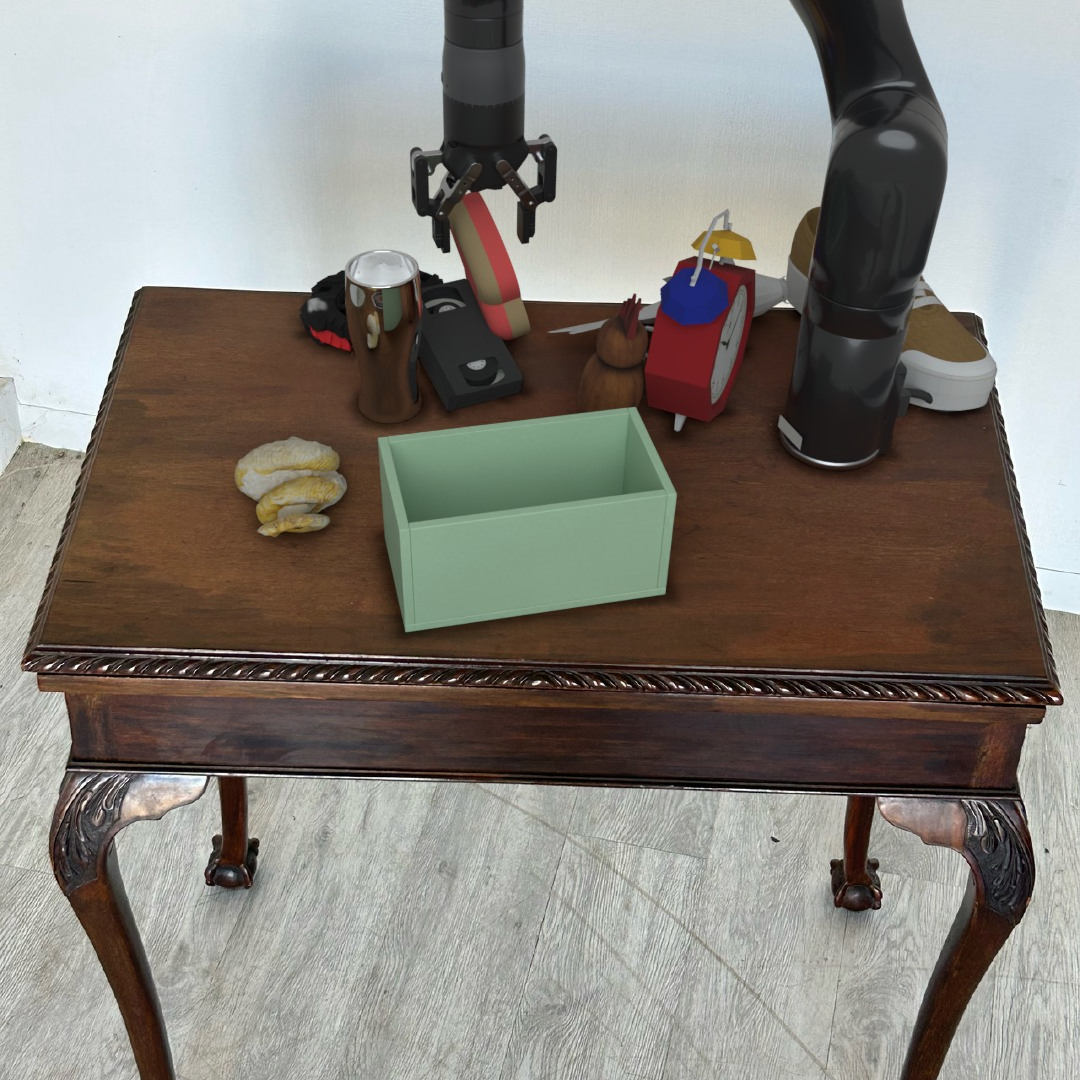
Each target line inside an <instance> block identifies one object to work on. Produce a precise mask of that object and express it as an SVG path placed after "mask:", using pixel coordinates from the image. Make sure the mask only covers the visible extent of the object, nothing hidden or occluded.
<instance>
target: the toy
mask: <svg viewBox="0 0 1080 1080" xmlns="http://www.w3.org/2000/svg"><path fill="white" fill-rule="evenodd" d="M419 277H420V284H421V288H425V287H429V286H434V285H438V284H442V283H444V279H443V278H440V276H439V275H438V274H436V273H433V274H431V273H429V272H426V271H423V270H421V269H419ZM310 291H311V295H310V298H309V299H306V300H305V302H304V303H303V304H302V306H301V307H300V309H299V310H300V314H299V317H300V318H299V319H300V320H301V322H302V323H301V324H302V326H303V328H304V331H305V332H306V333H307V334H308V336H309V337H310V338H311V339H312V340H313V341H314V342H315V343H316V344H318V345H319V346H325V345H329V346H333V347H335V348H337V349H340V350H344V351H349V352H352V351H354V348H353V344H352V341H351V337H350V333H349V328H348V324H347V316H346V314H344V313H343V312H341V310H343V311H346V305H345V269H341V270H340V271H338V272H336V273H335V274H330V275H327V276H326V277H324V278H322V279H320V280H319V281H317V282H316V284H314V285H313V286H312V287H311V288H310ZM351 350H352V351H351Z"/></svg>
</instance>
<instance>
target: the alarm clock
mask: <svg viewBox="0 0 1080 1080" xmlns="http://www.w3.org/2000/svg"><path fill="white" fill-rule="evenodd" d="M722 217H724V218H723V226H722V229H717V230H715V227H716V225H717V223H718V221H719V219H721V218H722ZM729 219H730V210H729V208H726V209H725V210H724V211H722V212H721V213H719V214H718V215H716V216H715V217H713V218H712V221H711V223H710V225H709V227H708V229H707V230H703V231H702V232H701V234H699V236H698V237H697V238H696V239H695V240H694V241H693V242H692V243H691V244H690V246H691V248H693V250H696V251H698V255H693V256H690V257H687V258H683V259H681V260H678V262H677V264H676V267H675V269H674V271H673V273H672V275H670V276H666V277H664V278H662V281H664V282H665V284H664V285H662V286H661V287H660V289H659V290H660V291H659V292H660V293H659V295H660V301H661V303H660V305H659V307H658V310H657V314H656V319H655V324H654V325H653V326H650V325H646V326H645V325H644V327H645V329H646V331H647V332H651V333H652V334H651V338H650V344H649V348H648V350H647V351H646V354H645V356H644V358H643V359H642V360H643V361H646V363H645V367H644V381H645V389H646V396H647V397H646V398H647V405H648V407H651V408H654V409H658V410H661V411H665V412H669V413H673V414H675V416H674V417H675V419H674V429H673V430H674V431H675V432H681V430H682V428H683V425H684V424H685V421H686V419H687V417H688V418H691V419H696V420H699V421H703V422H707V423H710V422H711V421H712V420H713V419H714V418H716V417H717V416H719V415H720V414H721V413H722V412H723V411H724V410H725V408H726V405H727V402H728V399H729V397H730V396H731V395H730V394H731V392H732V390H733V387H734V384H735V382H736V380H737V377H738V375H739V372H740V370H741V367H742V365H743V361H744V357H745V352H746V348H747V345H748V344H747V343H748V339H749V334H750V331H751V327H752V323H753V319H754V317H753V314H754V309H755V273H757V271H756V269H754V268H749V267H746V266H741V265H738V264H737V265H736V264H735V265H733V264H728V263H724V259H725V257H726V258H732V259H733V260H737V261H738V260H739V261H758V259H757V257H756V253H755V251H754V248H753V244H752V241H751V240H750V239H749V238H748V237H745V236H743V235H741V234H739V233H737V232H735V231H733V230H732V228H733V223H732V222H729ZM704 253H705V254H709V255H712V257H711V259H710V258H706V257H704ZM715 257H719V260H720V261H719V260H715Z"/></svg>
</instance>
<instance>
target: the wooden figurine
mask: <svg viewBox="0 0 1080 1080" xmlns="http://www.w3.org/2000/svg"><path fill="white" fill-rule="evenodd" d="M641 307H642V298H641V297H638V299H637V293H636V292H635V293H633V294H632V297H631V298H630V297H628V298H627V299H626V300H623V301H622V304H621V306H620V308H619V311H618V314H617V315H616V316H611V317H610V318H607V319H608V320H607V319H606V320H607V321H605V322H604V324H603V325H602V326H601V328H600V329H598V332H597V336H596V341H595V349H596V352H595V353H593V354H592V355H591V356H590V358H589V359H588V360H587V363H586V365H585V366H584V368H583V372H582V375H581V378H580V383H579V388H578V393H577V399H576V401H577V402H576V405H577V414H579V413H587V412H596V411H604V410H612V409H621V408H631V407H636V408H637V409H639V405H640V403H641V399H642V396H643V391H644V385H645V368H644V366H643V363H642V361H643V360H644V359H643V358H644V356H645V354H646V351H648V347H649V335H648V331H647V330H646V329H645V327H646V326H645V324H641V323H640V322H639V321H638V317H639V312H640V308H641ZM644 326H645V327H644Z"/></svg>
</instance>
